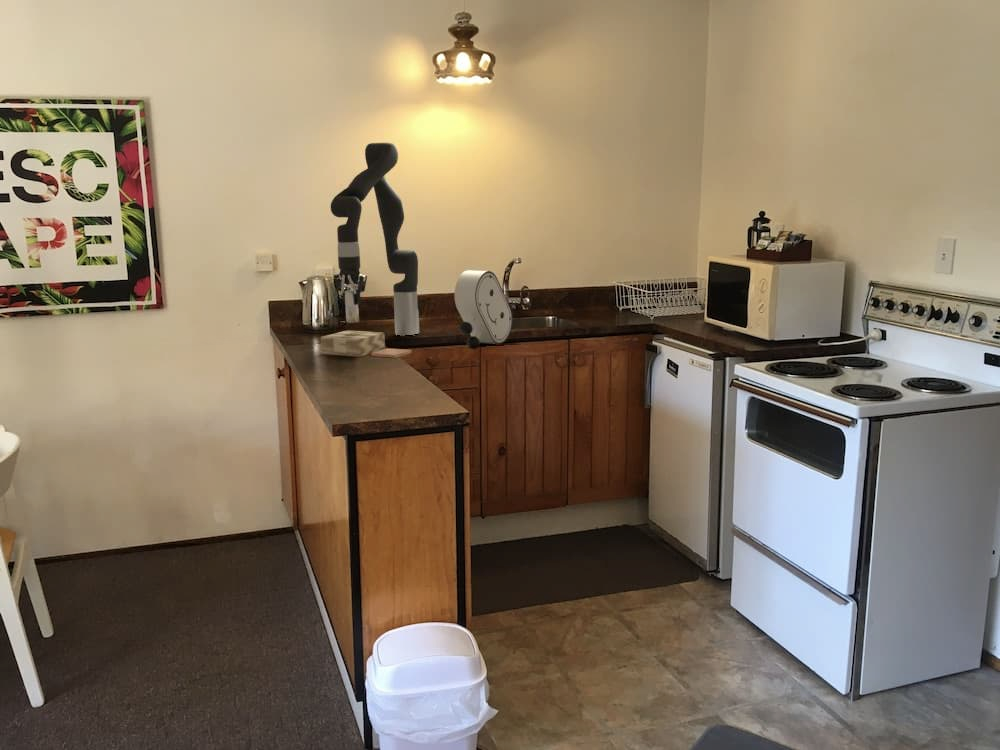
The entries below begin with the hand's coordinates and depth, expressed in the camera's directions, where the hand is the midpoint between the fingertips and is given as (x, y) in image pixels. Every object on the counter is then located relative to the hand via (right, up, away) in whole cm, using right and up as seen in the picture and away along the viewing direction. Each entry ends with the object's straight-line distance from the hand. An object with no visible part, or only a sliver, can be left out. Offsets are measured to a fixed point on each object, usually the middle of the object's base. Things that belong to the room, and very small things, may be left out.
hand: (351, 303), depth 305 cm
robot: (+46, -15, +11) cm, 50 cm away
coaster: (+15, -18, -3) cm, 23 cm away
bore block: (0, -17, +4) cm, 17 cm away
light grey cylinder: (0, -6, +1) cm, 6 cm away
